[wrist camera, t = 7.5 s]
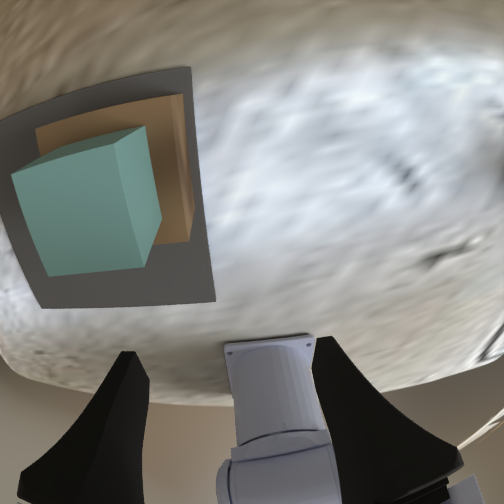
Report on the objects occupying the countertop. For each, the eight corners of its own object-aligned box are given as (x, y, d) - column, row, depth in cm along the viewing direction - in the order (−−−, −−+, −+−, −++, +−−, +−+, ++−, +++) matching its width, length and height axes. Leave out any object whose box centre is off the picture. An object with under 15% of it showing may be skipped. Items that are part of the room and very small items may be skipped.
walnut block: (195, 208, 18) (188, 241, 14) (92, 220, 17) (68, 253, 14) (182, 93, 14) (170, 95, 11) (70, 117, 14) (35, 129, 10)
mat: (215, 298, 22) (216, 301, 22) (43, 305, 21) (41, 308, 21) (191, 67, 14) (190, 66, 13) (-17, 130, 13) (-20, 131, 12)
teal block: (162, 218, 14) (144, 267, 10) (82, 230, 13) (48, 276, 10) (145, 125, 11) (113, 143, 8) (59, 147, 11) (10, 174, 8)
